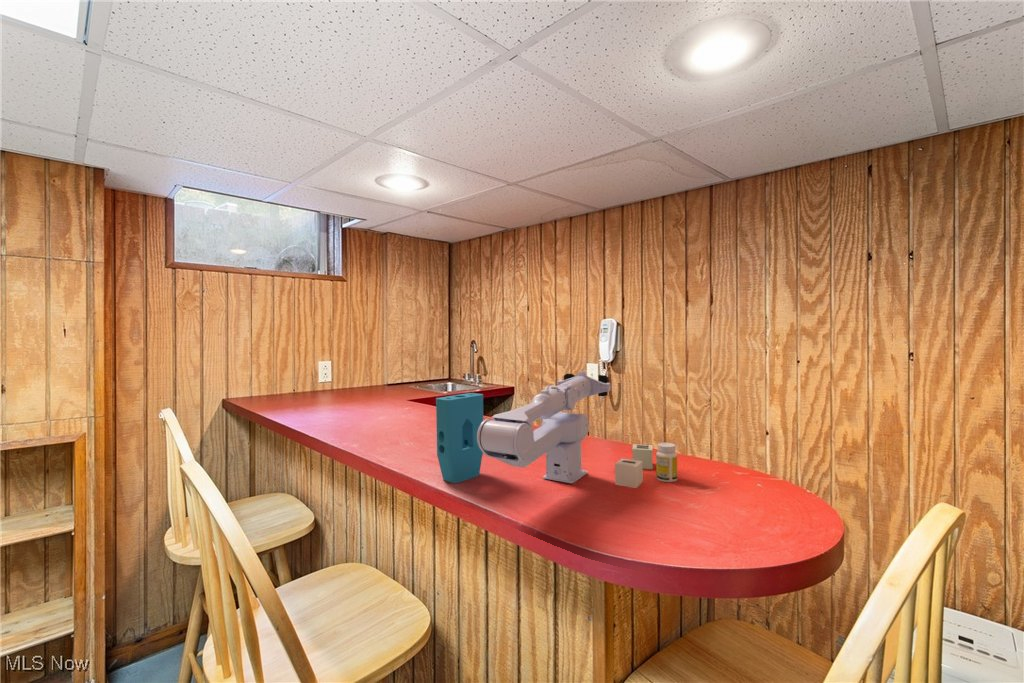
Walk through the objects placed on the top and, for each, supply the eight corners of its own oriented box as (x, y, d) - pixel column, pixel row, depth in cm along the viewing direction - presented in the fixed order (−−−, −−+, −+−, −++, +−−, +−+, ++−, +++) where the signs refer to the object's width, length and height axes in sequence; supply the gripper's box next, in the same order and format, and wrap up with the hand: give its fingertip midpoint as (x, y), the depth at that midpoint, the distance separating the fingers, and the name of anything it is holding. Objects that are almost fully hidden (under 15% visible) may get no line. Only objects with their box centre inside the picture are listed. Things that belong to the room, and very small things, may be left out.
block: (449, 485, 107) (448, 400, 107) (435, 481, 111) (434, 398, 110) (485, 473, 116) (484, 394, 116) (472, 469, 119) (471, 392, 119)
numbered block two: (652, 469, 118) (652, 449, 118) (632, 468, 119) (632, 448, 119) (652, 464, 123) (652, 444, 123) (633, 462, 124) (633, 443, 124)
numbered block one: (636, 488, 104) (636, 465, 104) (615, 484, 107) (615, 462, 107) (642, 482, 109) (642, 460, 108) (621, 478, 111) (621, 457, 111)
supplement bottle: (672, 475, 112) (672, 441, 112) (680, 482, 108) (680, 446, 107) (653, 476, 112) (653, 442, 112) (660, 482, 108) (660, 447, 107)
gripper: (601, 375, 114) (619, 366, 125) (549, 373, 121) (570, 365, 133) (602, 403, 114) (620, 392, 126) (550, 399, 122) (571, 389, 133)
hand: (594, 379), depth 129 cm, fingers open, 7 cm apart
